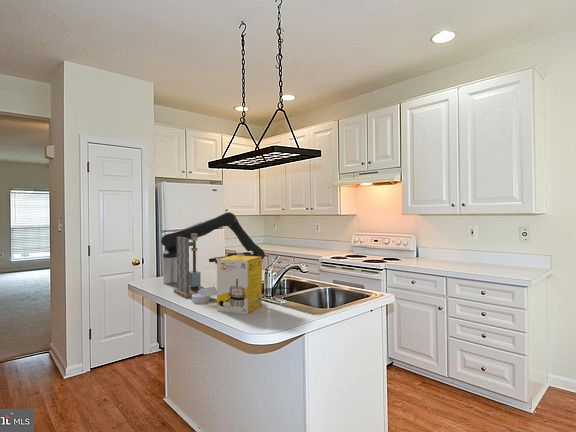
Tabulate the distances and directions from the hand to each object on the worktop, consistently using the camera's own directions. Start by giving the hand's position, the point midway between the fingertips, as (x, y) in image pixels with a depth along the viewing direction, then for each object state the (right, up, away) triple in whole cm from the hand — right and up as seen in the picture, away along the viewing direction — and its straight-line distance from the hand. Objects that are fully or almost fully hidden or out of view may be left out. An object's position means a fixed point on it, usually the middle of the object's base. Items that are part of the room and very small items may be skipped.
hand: (212, 261), depth 215 cm
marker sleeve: (-9, -13, -7) cm, 17 cm away
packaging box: (+22, -19, -39) cm, 48 cm away
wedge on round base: (+1, -18, -23) cm, 30 cm away
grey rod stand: (-9, -18, -6) cm, 21 cm away
